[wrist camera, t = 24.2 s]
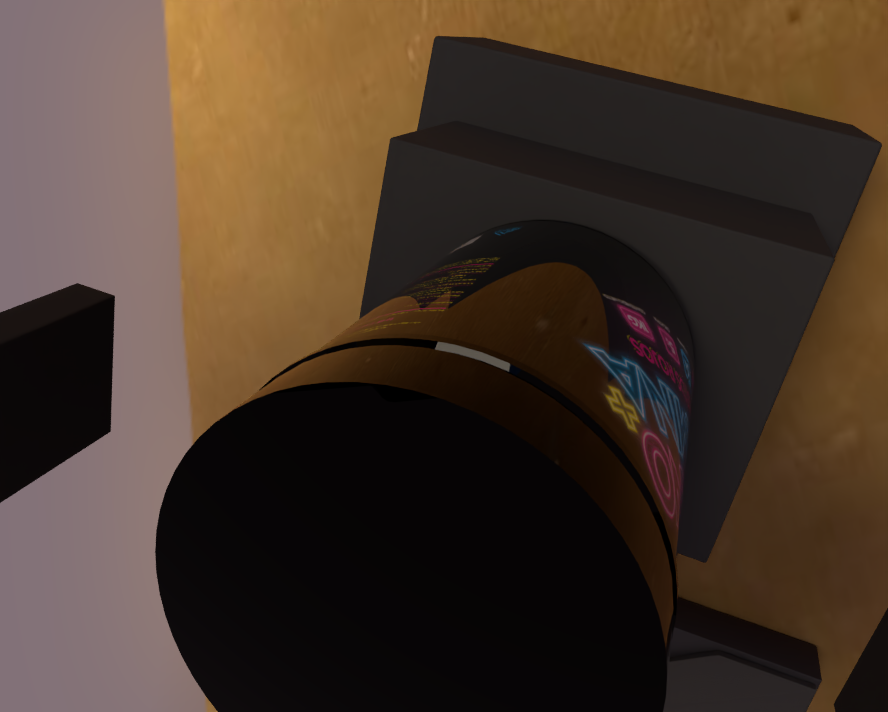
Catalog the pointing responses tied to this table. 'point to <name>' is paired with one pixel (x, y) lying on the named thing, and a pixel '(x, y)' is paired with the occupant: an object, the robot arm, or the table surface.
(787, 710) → the picture frame
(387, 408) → the supplement container
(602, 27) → the table surface
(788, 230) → the top pad
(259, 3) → the table surface
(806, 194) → the dark rectangular box
